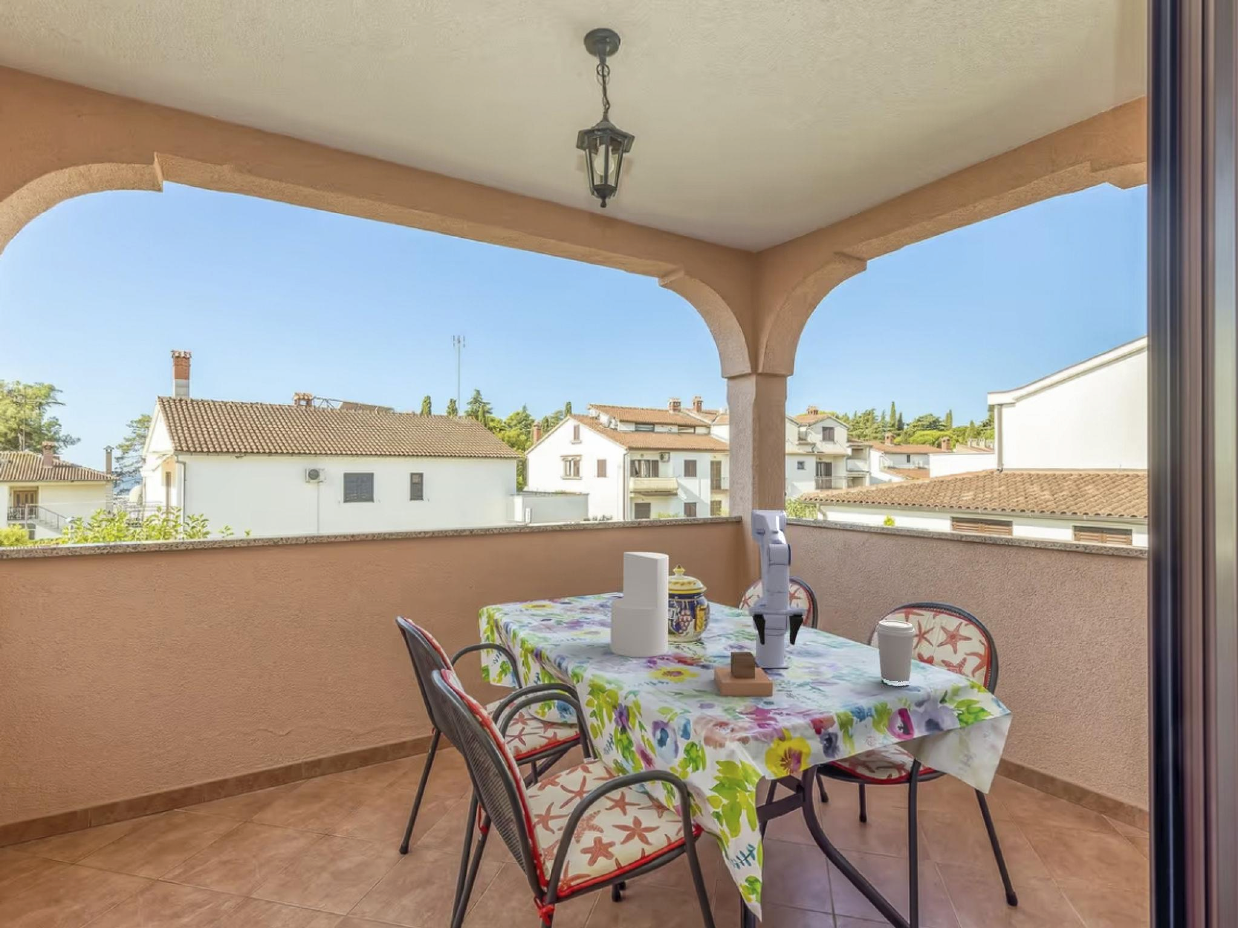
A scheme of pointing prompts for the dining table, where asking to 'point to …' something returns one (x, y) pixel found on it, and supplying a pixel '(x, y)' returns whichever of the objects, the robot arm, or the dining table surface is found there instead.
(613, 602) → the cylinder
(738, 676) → the walnut block
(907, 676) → the coffee cup
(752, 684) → the terracotta plinth
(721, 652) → the dining table surface
